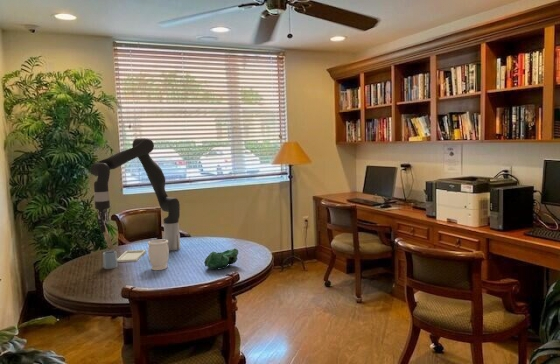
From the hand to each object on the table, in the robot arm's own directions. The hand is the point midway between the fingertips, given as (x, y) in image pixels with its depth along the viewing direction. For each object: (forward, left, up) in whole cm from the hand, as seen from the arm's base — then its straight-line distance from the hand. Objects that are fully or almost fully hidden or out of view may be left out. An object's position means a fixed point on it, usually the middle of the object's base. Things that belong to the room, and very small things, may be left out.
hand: (104, 231), depth 232 cm
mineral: (-63, +8, -21) cm, 67 cm away
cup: (-2, 0, -21) cm, 21 cm away
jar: (-29, +4, -21) cm, 36 cm away
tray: (-8, -20, -21) cm, 30 cm away
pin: (-1, 0, -10) cm, 10 cm away
